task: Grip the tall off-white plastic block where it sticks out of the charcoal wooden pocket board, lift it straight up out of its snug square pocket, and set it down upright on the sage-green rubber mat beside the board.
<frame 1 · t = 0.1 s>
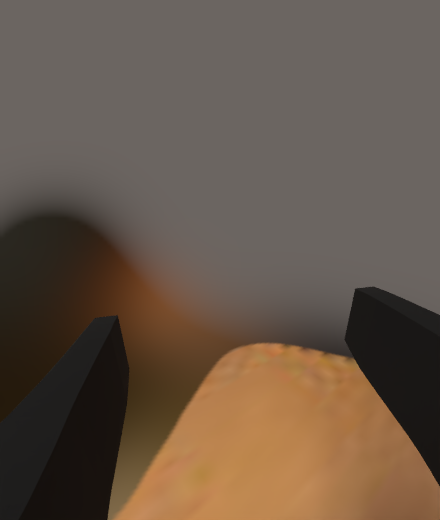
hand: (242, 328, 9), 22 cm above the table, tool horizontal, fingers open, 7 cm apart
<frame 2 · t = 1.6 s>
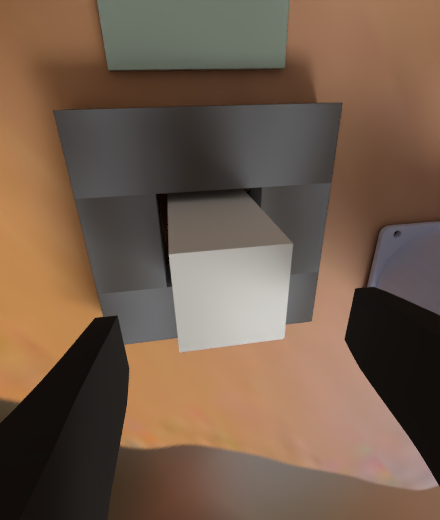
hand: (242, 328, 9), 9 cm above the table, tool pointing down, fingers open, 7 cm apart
pocket board: (206, 222, 18), on the table
block: (216, 252, 14), in the pocket board
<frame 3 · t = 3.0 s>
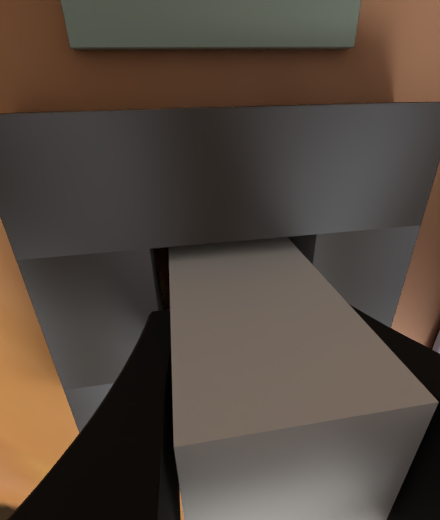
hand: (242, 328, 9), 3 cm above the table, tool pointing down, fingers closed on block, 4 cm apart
pocket board: (223, 273, 12), on the table
block: (246, 341, 9), in the pocket board, touching gripper
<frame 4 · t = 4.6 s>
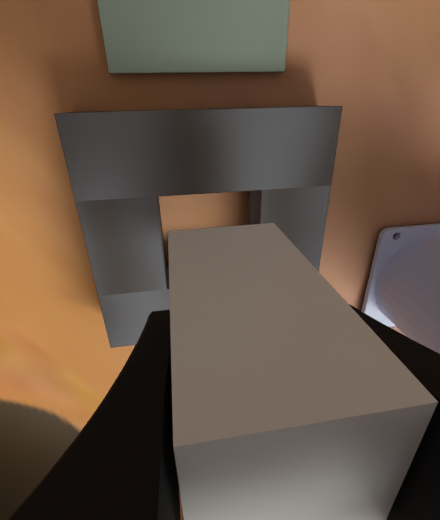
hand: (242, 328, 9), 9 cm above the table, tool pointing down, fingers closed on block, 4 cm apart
pocket board: (206, 224, 18), on the table
block: (246, 341, 9), point 10 cm above the table, touching gripper
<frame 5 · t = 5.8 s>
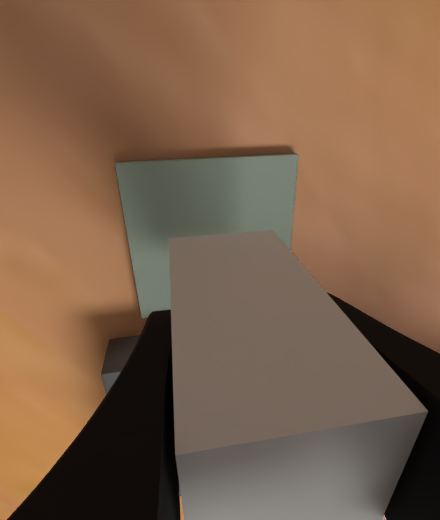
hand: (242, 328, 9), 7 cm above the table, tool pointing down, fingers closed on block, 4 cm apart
pocket board: (218, 397, 21), on the table
block: (245, 347, 9), point 7 cm above the table, touching gripper
mat: (212, 240, 15), on the table
when the fingers open (5 cm above the table, at t = 6.6 s): block stays where it is, resting on mat.
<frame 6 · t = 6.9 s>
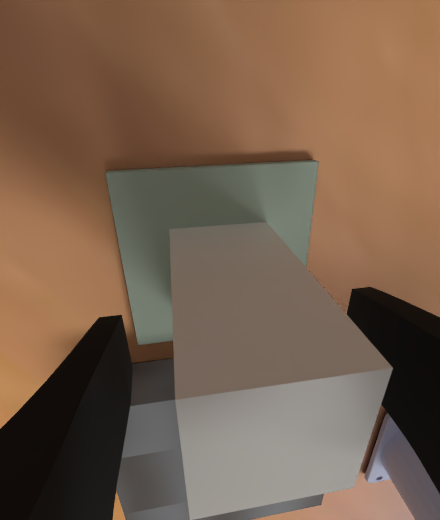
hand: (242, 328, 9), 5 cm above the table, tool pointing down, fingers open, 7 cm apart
pocket board: (222, 425, 19), on the table
block: (239, 327, 10), on the mat
mat: (218, 258, 14), on the table
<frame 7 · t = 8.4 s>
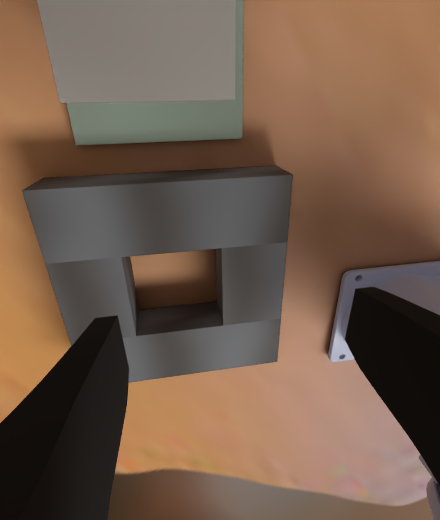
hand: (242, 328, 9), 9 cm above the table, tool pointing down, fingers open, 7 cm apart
pocket board: (175, 272, 19), on the table
block: (148, 31, 10), on the mat
mat: (152, 43, 13), on the table
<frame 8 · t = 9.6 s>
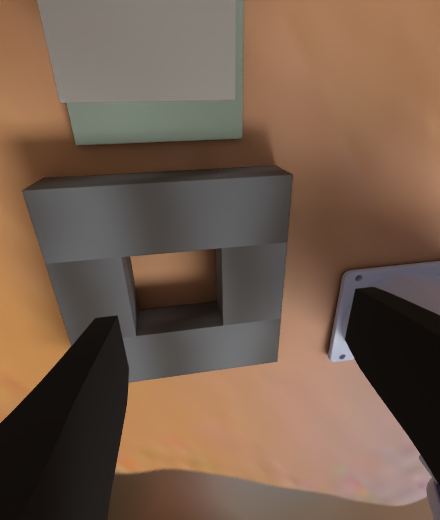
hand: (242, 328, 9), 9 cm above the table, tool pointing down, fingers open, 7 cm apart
pocket board: (175, 272, 19), on the table
block: (148, 31, 10), on the mat
mat: (152, 43, 13), on the table
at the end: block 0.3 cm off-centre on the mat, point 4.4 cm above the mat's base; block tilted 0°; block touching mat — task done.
